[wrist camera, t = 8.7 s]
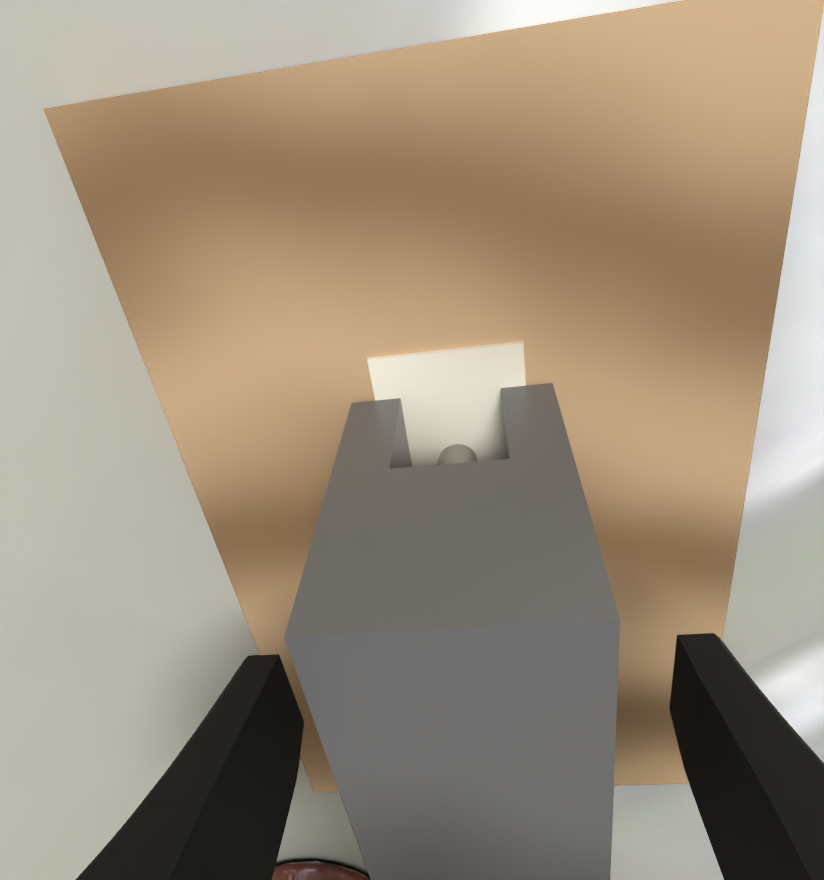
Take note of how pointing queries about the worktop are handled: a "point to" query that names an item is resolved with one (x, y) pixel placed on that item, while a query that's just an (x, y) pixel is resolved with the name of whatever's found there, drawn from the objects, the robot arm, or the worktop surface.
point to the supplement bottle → (315, 871)
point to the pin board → (472, 288)
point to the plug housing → (463, 653)
